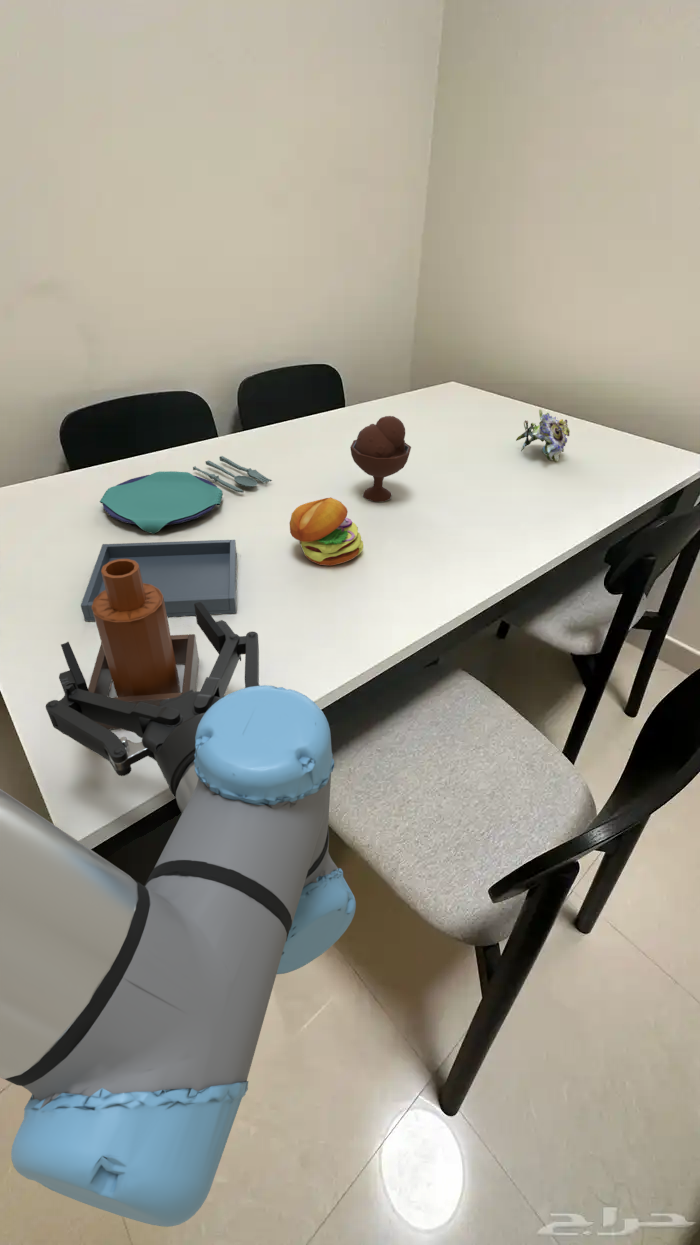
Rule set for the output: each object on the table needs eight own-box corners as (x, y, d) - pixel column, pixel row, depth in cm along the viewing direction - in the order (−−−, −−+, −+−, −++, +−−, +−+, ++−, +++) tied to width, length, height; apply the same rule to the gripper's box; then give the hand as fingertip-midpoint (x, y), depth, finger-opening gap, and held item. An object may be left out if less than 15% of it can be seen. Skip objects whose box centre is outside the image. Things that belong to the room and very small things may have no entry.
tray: (85, 621, 76) (80, 605, 75) (106, 558, 89) (102, 544, 87) (236, 613, 79) (234, 598, 78) (236, 553, 91) (235, 539, 90)
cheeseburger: (366, 570, 89) (353, 513, 83) (298, 582, 90) (281, 527, 84) (363, 536, 97) (352, 482, 91) (301, 547, 98) (286, 494, 92)
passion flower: (547, 483, 131) (560, 453, 120) (503, 464, 133) (512, 433, 122) (568, 444, 133) (583, 411, 122) (524, 426, 136) (535, 392, 124)
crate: (92, 731, 62) (83, 704, 60) (109, 664, 70) (101, 639, 68) (193, 722, 64) (189, 697, 61) (198, 658, 72) (195, 633, 69)
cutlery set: (82, 505, 102) (79, 493, 100) (219, 459, 120) (217, 448, 118) (147, 547, 92) (144, 534, 90) (285, 490, 110) (285, 479, 108)
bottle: (113, 716, 64) (75, 589, 53) (123, 674, 69) (90, 551, 59) (177, 711, 65) (152, 586, 54) (181, 670, 70) (159, 548, 60)
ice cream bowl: (387, 479, 116) (394, 403, 107) (416, 503, 108) (426, 423, 99) (339, 487, 112) (342, 408, 103) (365, 512, 104) (370, 430, 95)
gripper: (67, 876, 44) (17, 701, 57) (345, 743, 55) (248, 623, 69) (39, 819, 39) (-9, 643, 53) (349, 686, 50) (243, 570, 64)
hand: (136, 631), depth 61 cm, fingers open, 13 cm apart
